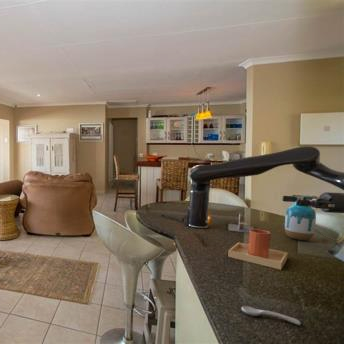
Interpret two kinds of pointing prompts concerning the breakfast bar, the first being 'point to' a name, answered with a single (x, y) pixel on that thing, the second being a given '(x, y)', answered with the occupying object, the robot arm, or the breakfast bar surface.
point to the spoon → (257, 312)
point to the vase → (300, 222)
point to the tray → (274, 259)
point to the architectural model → (240, 225)
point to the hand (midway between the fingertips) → (289, 200)
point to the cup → (259, 243)
